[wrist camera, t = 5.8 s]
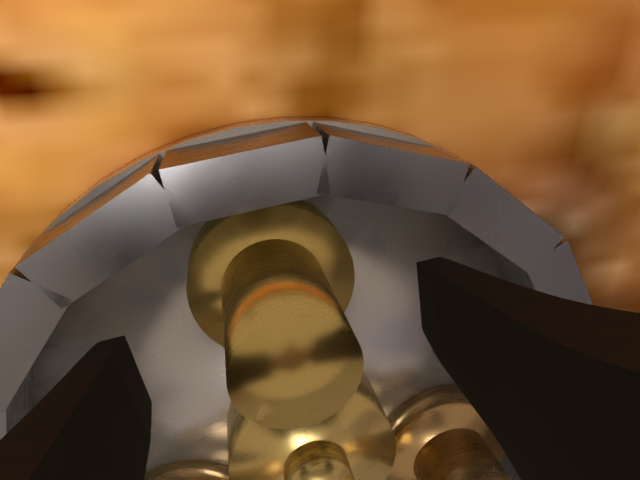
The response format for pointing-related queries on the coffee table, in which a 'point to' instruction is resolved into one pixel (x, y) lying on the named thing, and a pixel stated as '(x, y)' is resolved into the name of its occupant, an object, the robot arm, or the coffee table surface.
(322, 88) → the coffee table surface
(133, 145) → the coffee table surface
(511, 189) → the coffee table surface
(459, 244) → the carrier
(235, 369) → the gear
